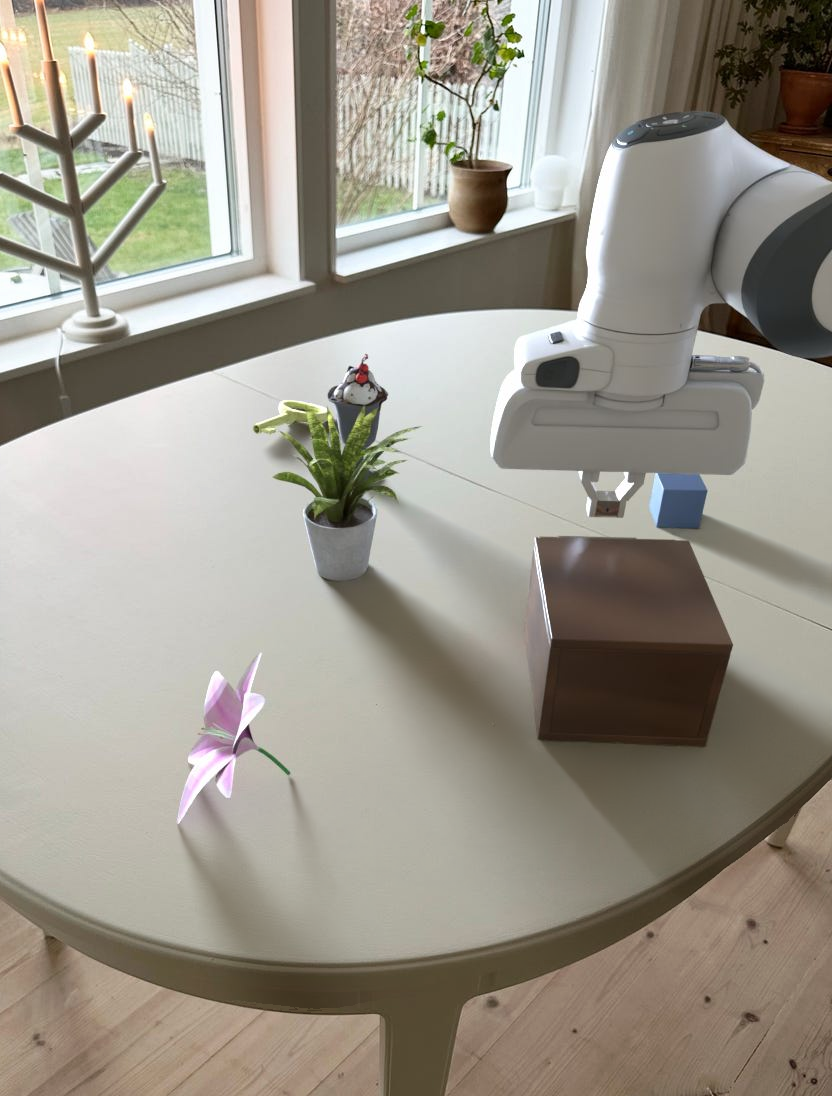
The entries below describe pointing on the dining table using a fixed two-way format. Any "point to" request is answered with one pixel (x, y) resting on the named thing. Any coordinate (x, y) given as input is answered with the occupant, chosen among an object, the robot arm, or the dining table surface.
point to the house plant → (342, 494)
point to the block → (677, 500)
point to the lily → (224, 735)
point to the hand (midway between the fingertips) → (604, 514)
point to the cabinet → (623, 642)
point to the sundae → (357, 402)
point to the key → (290, 416)
